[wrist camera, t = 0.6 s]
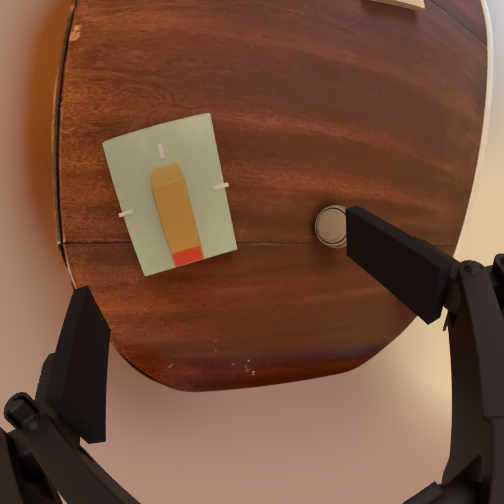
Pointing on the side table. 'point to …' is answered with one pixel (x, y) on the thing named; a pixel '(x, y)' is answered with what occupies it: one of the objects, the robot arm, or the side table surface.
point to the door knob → (332, 226)
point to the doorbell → (405, 3)
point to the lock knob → (176, 214)
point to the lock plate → (196, 177)
